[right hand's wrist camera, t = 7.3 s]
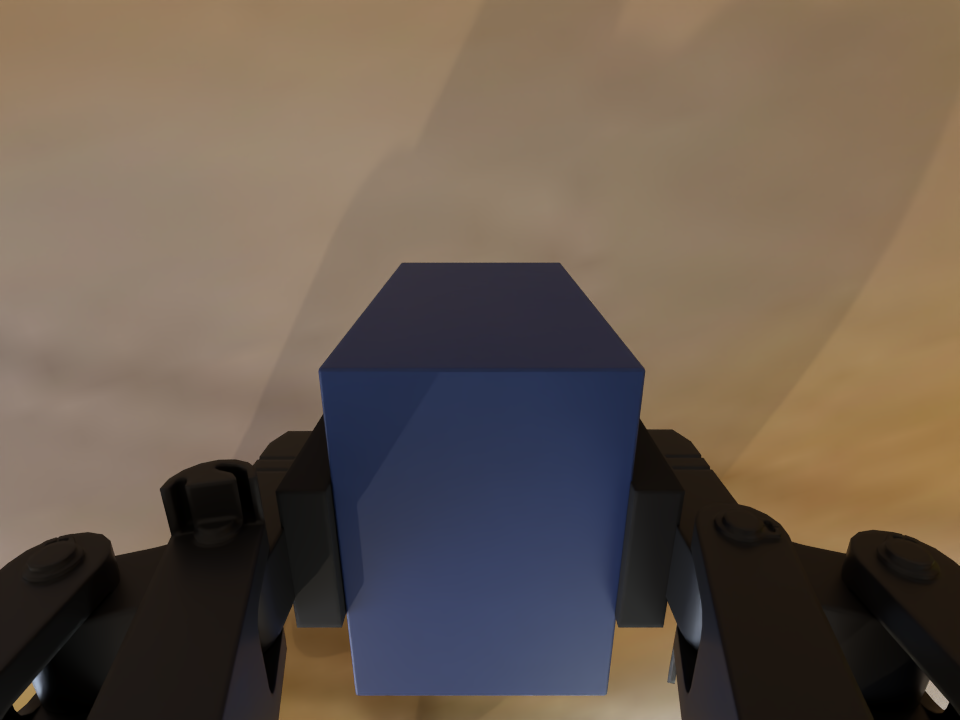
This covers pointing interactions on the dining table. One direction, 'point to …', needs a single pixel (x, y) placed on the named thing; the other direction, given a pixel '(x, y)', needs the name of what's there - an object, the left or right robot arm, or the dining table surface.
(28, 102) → the dining table surface
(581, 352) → the block
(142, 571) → the right robot arm
